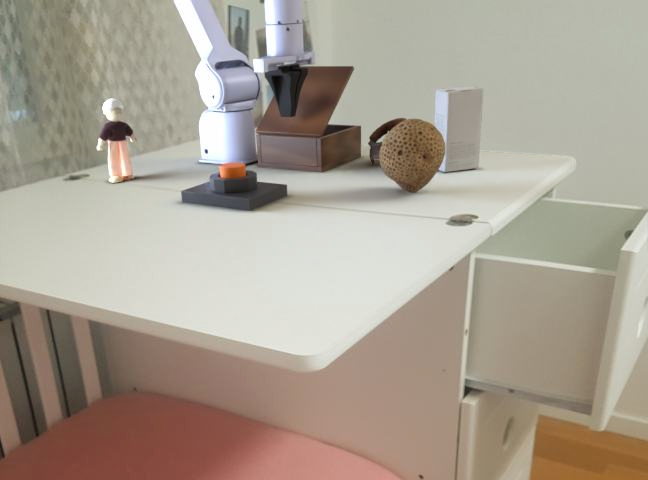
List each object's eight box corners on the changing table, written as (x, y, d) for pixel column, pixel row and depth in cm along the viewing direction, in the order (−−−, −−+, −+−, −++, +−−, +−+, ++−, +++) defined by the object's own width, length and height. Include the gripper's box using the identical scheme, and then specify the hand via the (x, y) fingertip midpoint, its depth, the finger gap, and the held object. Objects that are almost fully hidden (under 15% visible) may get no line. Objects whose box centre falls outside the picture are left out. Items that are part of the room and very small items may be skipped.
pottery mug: (438, 171, 114) (417, 128, 109) (384, 197, 117) (361, 156, 113) (430, 139, 123) (410, 98, 118) (380, 164, 126) (359, 125, 122)
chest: (300, 152, 132) (299, 122, 129) (361, 156, 125) (361, 125, 123) (258, 166, 122) (256, 134, 119) (321, 172, 115) (320, 138, 113)
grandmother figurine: (117, 184, 114) (105, 101, 108) (98, 183, 115) (86, 101, 110) (147, 174, 120) (137, 95, 114) (129, 173, 121) (118, 95, 116)
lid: (290, 68, 124) (288, 66, 123) (354, 68, 117) (353, 66, 117) (256, 133, 119) (255, 131, 119) (321, 137, 113) (320, 135, 112)
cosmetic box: (465, 164, 115) (470, 85, 110) (480, 169, 112) (485, 87, 106) (430, 168, 114) (434, 88, 109) (444, 173, 110) (448, 90, 105)
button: (215, 179, 99) (214, 166, 99) (230, 173, 102) (229, 161, 101) (235, 181, 98) (234, 168, 97) (251, 175, 100) (250, 163, 100)
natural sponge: (434, 202, 95) (437, 124, 90) (370, 198, 98) (370, 123, 94) (448, 186, 102) (452, 114, 98) (388, 183, 105) (389, 113, 101)
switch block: (182, 202, 101) (179, 178, 99) (221, 189, 108) (219, 165, 106) (250, 211, 95) (248, 185, 93) (287, 196, 101) (286, 171, 100)
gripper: (279, 25, 102) (283, 124, 108) (330, 21, 113) (332, 111, 118) (239, 27, 105) (246, 122, 111) (293, 22, 116) (296, 109, 122)
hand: (288, 116), depth 115 cm, fingers closed
